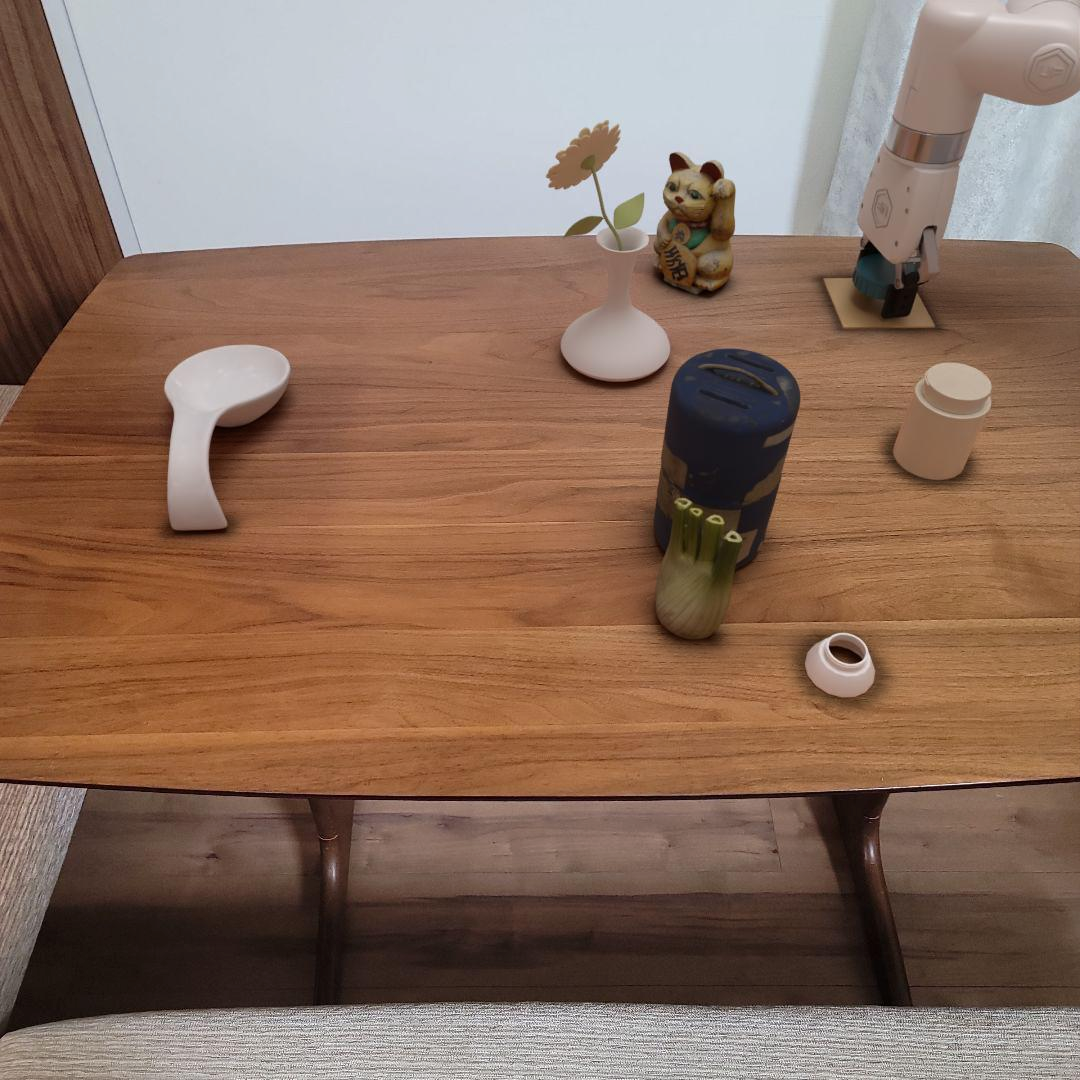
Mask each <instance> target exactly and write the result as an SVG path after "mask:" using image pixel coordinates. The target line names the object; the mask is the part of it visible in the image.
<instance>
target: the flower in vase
mask: <svg viewBox="0 0 1080 1080" xmlns="http://www.w3.org/2000/svg"><path fill="white" fill-rule="evenodd" d="M609 125H610V120H609V119H605V120H604V121H602V122H598V123H596V124H595V125H594V126H593V128H592V131H591V130H590V127H587V126H585V127H583V128H581V130H580V131H579V132H578V137H574V138H573V139H571V140H570V142H569V146H567V148H566V149H565V148H564V149H561V150H559V151H558V152H557V153H556V154H555V159H556V160H557V161H558V163H556V164H554V165H552V166H551V167H549V169H548V171H547V173H546V175H545V178H546V179H548V180H549V181H550V182H549V183H548V185H547V187H548V188H549V189H552V188H554V191H555V190H556V191H559V190H561V189H562V188H563V190H568V189H570V188H571V187H576V186H578V185H579V184H581V183H582V182H583V181H586V180H587V179H589V178H590V177H591V176H592V178H593V182H594V184H595V189H596V193H597V197H598V202H599V207H600V211H601V215H602V216H600V215H588V216H585V217H583V218H581V219H579V220H577V221H576V222H574V223H573V224H572V225H571V226H570V227H569V228H568V229H567V231H566V232H565V234H564V235H563V239H564V238H567V237H572V236H573V237H574V236H583V235H587V234H590V233H591V232H592V231H593V230H594V229H596V227H598V226H599V225H600V224H601V223H602V221H603V220H604V222H605V223H606V224H607V226H608V227H605V228H603V229H601V230H599V231H598V232H597V234H596V236H595V241H596V243H597V245H598V246H599V247H600V249H601V251H602V252H603V254H604V257H605V260H606V266H607V267H606V268H607V291H606V292H607V294H606V298H605V301H604V302H603V304H602V305H600V306H599V307H597V308H594V309H592V310H590V311H588V312H586V313H584V314H582V315H580V316H579V317H578V318H577V319H575V320H574V321H573V322H571V323H569V326H567V328H566V329H565V330H564V333H563V336H562V337H561V340H560V351H561V354H562V356H563V357H564V359H565V361H567V363H568V365H570V366H571V368H573V369H574V370H576V371H577V372H579V373H580V374H582V375H584V376H586V377H589V378H592V379H595V380H599V381H604V382H605V381H606V382H614V383H616V382H617V383H618V382H619V383H620V382H630V381H636V380H640V379H642V378H645V377H648V376H650V375H652V374H653V373H655V372H657V371H658V370H659V369H661V367H662V366H663V365H664V364H665V363H666V362H667V360H668V358H669V357H670V354H671V344H670V340H669V337H668V335H667V332H666V331H665V329H663V327H662V326H661V325H660V324H659V323H658V322H657V321H656V320H654V319H653V318H652V317H651V316H649V315H648V314H646V313H645V312H643V311H641V310H639V309H637V308H636V307H634V305H633V303H632V300H631V285H632V278H633V272H634V270H635V269H634V268H635V265H636V262H637V259H638V257H639V256H640V255H641V253H642V251H643V250H644V249H645V248H646V247H647V246H648V245H649V242H650V237H649V235H648V234H647V233H646V232H645V231H644V230H642V229H640V228H638V227H634V225H636V224H637V223H639V222H640V220H641V219H642V216H643V212H644V208H645V192H641V193H639V194H636V196H634V197H632V198H630V199H628V200H625V201H623V202H622V203H620V204H619V205H617V206H616V207H615V209H614V211H613V219H612V220H613V224H612V222H611V221H610V219H609V217H608V215H607V213H606V209H605V205H604V201H603V199H604V198H603V195H602V191H601V187H600V183H599V179H598V176H597V172H599V171H600V170H601V169H602V168H603V167H604V164H605V163H607V162H608V161H609V160H610V158H611V157H612V155H614V153H616V151H617V150H618V147H619V146H618V143H619V141H620V140H621V136H620V134H621V133H622V132H621V129H620V124H619V123H616V124H614V125H613V126H612V127H611V128H610V126H609Z"/></svg>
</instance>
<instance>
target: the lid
mask: <svg viewBox="0 0 1080 1080" xmlns="http://www.w3.org/2000/svg"><path fill="white" fill-rule="evenodd" d="M857 261H858V260H857ZM857 261H856V265H857V266H856V265H855V267H854V271H853V274H852V278H853V281H852V282H853V283H854V286H855V287H856V288H857V289H858V290H859V291H860V292H862V293H863V294H865V295H867V296H870V297H873V298H876V299H881V300H885V298H886V295H887V292H888V288H889V285H890V284H894V279H895V264H892V263H891V262H889V261H888V260H887V259H886V258H885V257H884V256H883V255H882V254H881V253H879V254H871V255H867V256H864V257H862V258H861V259H860V260H859V261H858V262H857ZM914 268H915V263H907V264H906V270H905V275H907V274H909V273H911V272H913V271H914Z"/></svg>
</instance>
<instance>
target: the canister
mask: <svg viewBox="0 0 1080 1080" xmlns="http://www.w3.org/2000/svg"><path fill="white" fill-rule="evenodd" d="M800 406H801V389H800V386H799V383H798V381H797V379H796V377H795V376H794V375H793V373H791V371H790V370H789V369H788V368H787V367H786V366H784V365H783V363H780V362H779V361H778V360H775V359H774V358H772V357H770V356H768V355H766V354H763V353H760V352H756V351H752V350H748V349H743V348H714V349H710V350H707V351H703V352H699V353H697V354H696V355H693V356H692V357H690V358H689V359H687V360H686V361H684V362H683V364H681V366H679V368H678V369H677V370H676V372H675V374H674V376H673V379H672V381H671V385H670V390H669V399H668V405H667V413H666V420H665V427H664V434H663V439H662V440H663V442H662V449H661V453H660V454H661V455H660V469H659V477H658V483H657V489H656V500H655V508H654V515H653V516H654V517H653V531H654V535H655V538H656V540H657V543H658V545H659V546H660V547H661V549H662V550H663V551H664V553H666V551H667V549H668V546H669V543H670V537H671V530H672V522H673V511H674V508H673V506H674V505H673V503H674V501H675V500H676V499H677V498H687V499H688V500H689V501H691V502H693V504H692V508H699V509H701V510H702V511H703V524H702V535H703V530H704V525H705V520H706V519H707V518H709V517H710V516H712V515H718V516H721V517H722V518H723V520H724V529H723V535H722V539H721V545H722V541H723V539H724V537H725V536H726V535H727V533H729V532H730V531H731V530H732V531H735V532H737V533H738V534H739V535H740V537H741V538H742V546H741V549H740V551H739V555H738V559H737V562H736V566H735V570H736V569H738V568H741V567H743V566H745V565H746V564H748V563H749V562H751V561H752V560H753V559H754V558H755V557H756V556H757V555H758V553H759V552H760V551H761V549H762V548H763V545H764V542H765V538H766V533H767V529H768V526H769V522H770V519H771V516H772V513H773V509H774V507H775V503H776V500H777V495H778V491H779V489H780V484H781V480H782V473H783V470H784V466H785V461H786V458H787V454H788V451H789V447H790V443H791V439H792V435H793V431H794V429H795V425H796V421H797V417H798V414H799V411H800ZM701 543H702V542H701ZM721 545H720V547H721Z"/></svg>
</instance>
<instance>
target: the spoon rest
mask: <svg viewBox="0 0 1080 1080" xmlns="http://www.w3.org/2000/svg"><path fill="white" fill-rule="evenodd" d="M291 372H292V369H291V364H290V361H289V360H288V358H287V357H286V355H284V354H283V353H282V352H280V351H279V350H277V349H274V348H272V347H268V346H264V345H257V344H234V345H233V344H232V345H223V346H218V347H213V348H210V349H205V350H203V351H200V352H198V353H195V354H193V355H191V356H189V357H187V358H185V359H184V360H183V361H181V362H180V363H178V364H177V365H176V366H175V367H174V368H172V370H171V371H170V372H169V374H168V375H167V377H166V379H165V382H164V385H163V386H164V387H163V392H164V395H165V396H166V399H167V401H168V402H169V404H170V405H171V407H172V410H173V423H172V427H171V435H170V440H169V443H170V444H169V451H168V452H169V453H168V462H167V463H168V464H167V466H168V467H167V485H166V487H167V489H166V490H167V491H166V492H167V493H166V494H167V495H166V496H167V497H166V500H167V512H168V513H167V514H168V519H169V523H170V526H171V529H173V530H175V531H205V530H207V531H209V530H220V529H226V528H227V527H228V521H227V519H226V516H225V514H224V512H223V510H222V507H221V504H220V502H219V500H218V498H217V495H216V492H215V489H214V487H213V484H212V483H213V482H212V479H211V474H210V463H209V462H210V460H209V459H210V448H211V447H210V446H211V441H212V436H213V433H214V430H215V427H216V426H217V427H222V428H236V427H241V426H245V425H248V424H251V423H252V422H254V421H256V420H258V419H259V418H260V417H262V416H263V415H265V414H266V413H267V412H269V411H270V410H271V409H272V408H273V407H274V406H275V405H276V404H277V403H278V402H279V401H280V399H281V398H282V396H283V395H284V393H285V392H286V390H287V387H288V386H289V385H288V384H289V381H290V377H291Z"/></svg>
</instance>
